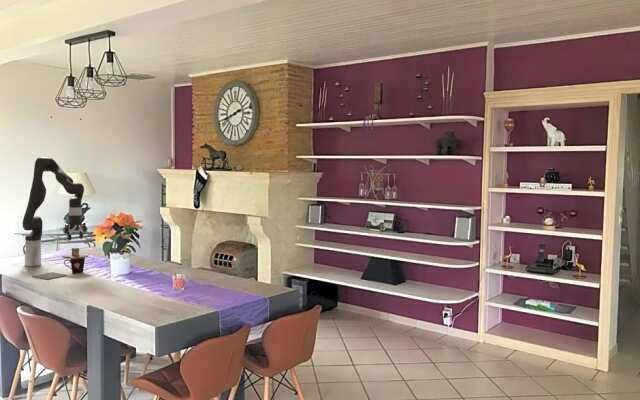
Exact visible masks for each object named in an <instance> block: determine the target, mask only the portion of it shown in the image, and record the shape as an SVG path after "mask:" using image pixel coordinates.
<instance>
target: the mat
mask: <svg viewBox="0 0 640 400" xmlns="http://www.w3.org/2000/svg"><path fill="white" fill-rule="evenodd" d="M31 277H32V278H35V279H41V280H46V281H49V280H53V279H58V278H63V277H68V274H66V273H59V272H53V271H51V272H47V273H41V274H37V275H32V276H31Z"/></svg>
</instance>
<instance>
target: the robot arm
mask: <svg viewBox="0 0 640 400" xmlns="http://www.w3.org/2000/svg"><path fill="white" fill-rule="evenodd" d="M44 172H51V173H53V174H54V175H55V180H56V181H57V183H59V185H61V186H62V187H63V188H64V190H65V192H66V193H67V194H69V195H74V196H73V197H72V198H70V199H69V201H68V203H69V205H68V222H69V223H68V224H67V223H65V224H64V232H63V233H64V235H65V234H66V235H67V240H68V241H72V233H73V232H74V231H78V232H79V235H78V236H79V239H80V240H82V239H83V238H84V233H85V232H86V231H87V228H86V226H87V223H86V222H83V219H82V218H83V216H82V215H83V213H82V212H83V210H82V200H83V195H84V193H85V187H84V185H83V184H82V183H80V182H76V183H74V180H73V178H72V177H71V176H69V175H68V174H67V173H66V172H65V171H64V170H63V169H62V168H61V167H60V165H58V163H57V162H56V160H55V159H53V158H52V157H37V158H36V160H35V162H34V168H33V176H32V181H31V188H30V192H29V198H28V202H27V206H26V210H25V212H24V216H23V219H22V227H23V230H24V231H31V232H30V233H29V234H27V235H26V236H25V251H24V265H25V266H26V267H37V266H41V265H42V235H43V220H42V217H41V216H39V215H36V214H35V213H37V210H38V209H39V208H40V207H41V206H42V205H43V203H44V202H45V199H46V196H47V195H46V194H47V188H46V186H45V185H46V184H45V183H44V180H43V177H44V176H43V175H44Z"/></svg>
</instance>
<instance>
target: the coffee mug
mask: <svg viewBox="0 0 640 400" xmlns="http://www.w3.org/2000/svg"><path fill="white" fill-rule="evenodd" d="M85 260H86V257H85V258H80V259H68V258H66V259H65V260H64V261H63V264H64V265H65V266H66V267H67V268H69V269H71V273H72V274H73V275H76V274H82V273H84V267H85ZM67 261H69V263H70V265H69V266H68V265H67V264H66V262H67Z"/></svg>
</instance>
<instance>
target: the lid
mask: <svg viewBox="0 0 640 400" xmlns="http://www.w3.org/2000/svg"><path fill="white" fill-rule="evenodd" d="M61 257H62V258H63V259H68V260H71V259H80V258H85V259H86V258H89V257H90V255H88V254H81V253H80V247H72V248H71V254H65V255H62V256H61Z"/></svg>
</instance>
